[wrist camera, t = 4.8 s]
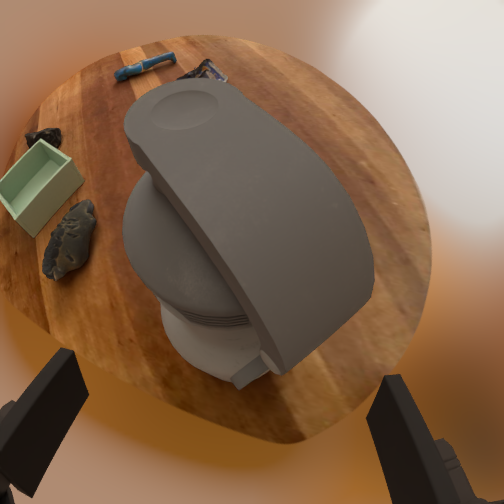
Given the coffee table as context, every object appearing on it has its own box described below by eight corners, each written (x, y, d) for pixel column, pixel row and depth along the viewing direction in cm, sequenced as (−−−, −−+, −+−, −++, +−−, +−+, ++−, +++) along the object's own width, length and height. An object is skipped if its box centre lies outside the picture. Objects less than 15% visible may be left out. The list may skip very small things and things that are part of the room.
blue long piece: (174, 61, 60) (117, 84, 57) (170, 48, 58) (112, 70, 55) (179, 62, 57) (118, 86, 54) (175, 49, 55) (113, 72, 52)
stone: (111, 206, 40) (99, 183, 35) (82, 291, 34) (61, 274, 29) (76, 204, 40) (62, 182, 35) (45, 283, 34) (24, 267, 29)
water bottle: (301, 349, 32) (471, 192, 7) (231, 403, 29) (158, 467, 4) (246, 281, 35) (251, 37, 10) (177, 329, 32) (22, 141, 7)
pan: (33, 238, 37) (15, 220, 32) (8, 206, 40) (-8, 188, 35) (84, 181, 42) (71, 158, 37) (52, 158, 45) (40, 138, 40)
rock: (47, 128, 49) (37, 109, 44) (70, 137, 47) (60, 116, 42) (25, 151, 46) (14, 132, 41) (46, 162, 44) (33, 142, 39)
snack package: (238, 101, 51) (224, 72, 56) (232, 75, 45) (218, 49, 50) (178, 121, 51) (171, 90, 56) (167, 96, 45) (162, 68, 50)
